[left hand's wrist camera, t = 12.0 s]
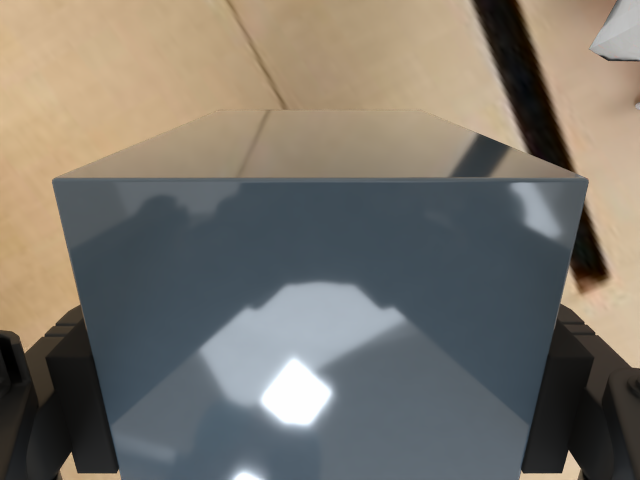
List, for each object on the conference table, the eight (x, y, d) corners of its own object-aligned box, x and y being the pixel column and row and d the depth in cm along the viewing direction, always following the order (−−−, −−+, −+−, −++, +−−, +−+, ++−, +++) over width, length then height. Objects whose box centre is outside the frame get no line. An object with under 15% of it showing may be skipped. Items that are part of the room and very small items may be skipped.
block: (422, 109, 17) (591, 178, 6) (405, 312, 20) (497, 577, 10) (217, 109, 17) (48, 178, 6) (234, 312, 20) (142, 576, 10)
